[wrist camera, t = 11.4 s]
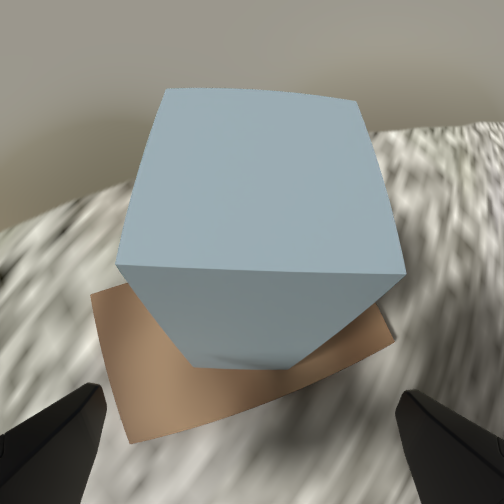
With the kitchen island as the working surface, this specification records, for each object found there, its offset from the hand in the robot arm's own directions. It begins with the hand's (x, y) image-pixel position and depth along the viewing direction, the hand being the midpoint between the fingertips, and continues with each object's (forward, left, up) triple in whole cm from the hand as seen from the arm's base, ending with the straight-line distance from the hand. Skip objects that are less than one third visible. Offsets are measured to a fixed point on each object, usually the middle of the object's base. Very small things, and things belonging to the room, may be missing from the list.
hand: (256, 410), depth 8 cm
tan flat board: (+4, -2, -9) cm, 10 cm away
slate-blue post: (+4, -2, -8) cm, 9 cm away
